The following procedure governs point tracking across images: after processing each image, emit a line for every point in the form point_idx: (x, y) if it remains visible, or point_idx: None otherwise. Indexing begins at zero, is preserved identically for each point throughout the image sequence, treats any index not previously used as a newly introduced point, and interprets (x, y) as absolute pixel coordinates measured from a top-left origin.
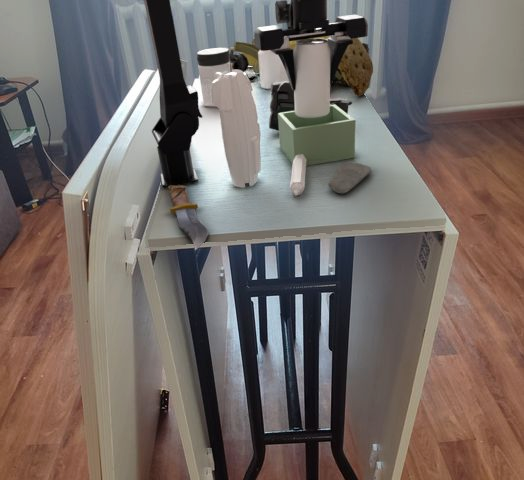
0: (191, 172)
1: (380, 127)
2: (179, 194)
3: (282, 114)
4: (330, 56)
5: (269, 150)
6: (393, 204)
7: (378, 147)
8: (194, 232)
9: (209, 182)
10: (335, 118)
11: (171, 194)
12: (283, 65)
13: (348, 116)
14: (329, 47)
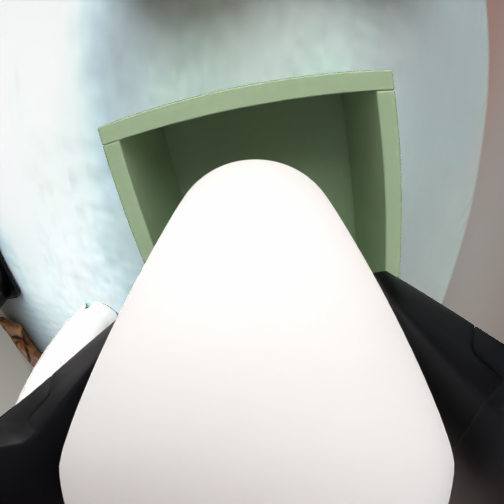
0: (1, 288)
1: (486, 33)
2: (29, 355)
3: (118, 156)
4: (448, 414)
5: (117, 119)
6: None
7: (442, 191)
8: None
9: (38, 296)
10: (366, 128)
11: (19, 349)
12: (33, 395)
13: (392, 273)
14: (497, 443)
